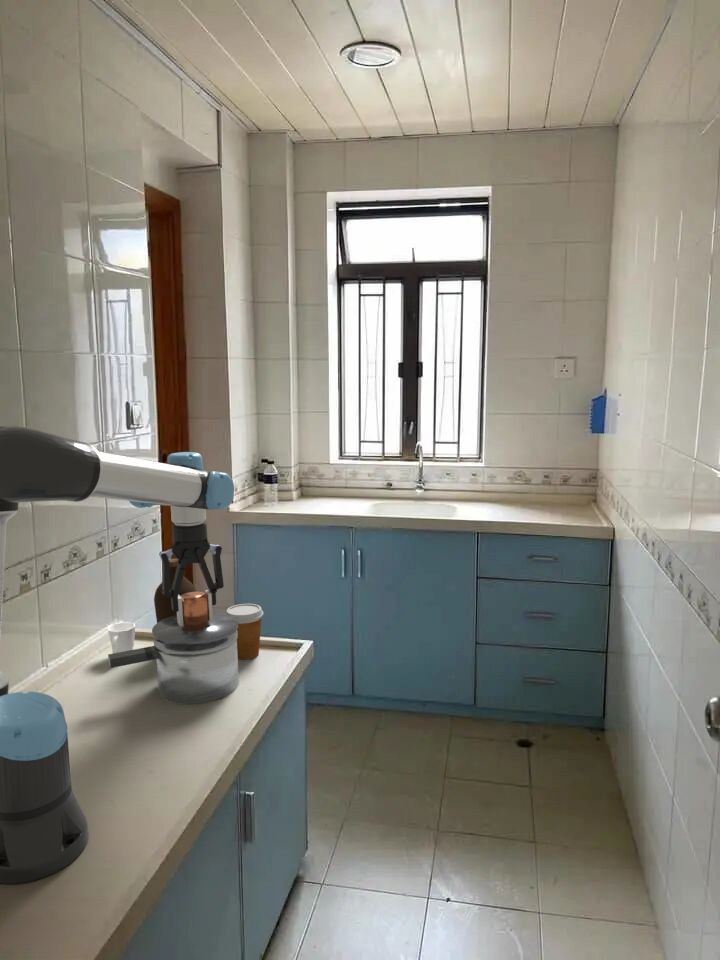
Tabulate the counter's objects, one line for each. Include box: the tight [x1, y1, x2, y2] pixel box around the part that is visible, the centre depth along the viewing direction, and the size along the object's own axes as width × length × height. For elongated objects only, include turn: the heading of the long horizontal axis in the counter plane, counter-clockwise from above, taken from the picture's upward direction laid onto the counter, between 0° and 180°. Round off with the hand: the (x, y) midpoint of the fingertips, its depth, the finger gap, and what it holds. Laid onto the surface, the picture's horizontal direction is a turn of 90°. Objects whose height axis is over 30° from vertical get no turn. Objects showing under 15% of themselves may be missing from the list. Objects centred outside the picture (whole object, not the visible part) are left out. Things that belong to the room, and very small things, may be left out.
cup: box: [107, 621, 136, 654], centre depth 179 cm, size 7×10×8 cm
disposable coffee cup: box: [225, 603, 264, 660], centre depth 180 cm, size 10×10×12 cm
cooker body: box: [107, 630, 240, 705], centre depth 160 cm, size 28×19×12 cm, turn 116°
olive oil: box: [153, 558, 198, 624], centre depth 179 cm, size 11×11×25 cm
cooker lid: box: [151, 591, 238, 646], centre depth 160 cm, size 19×19×8 cm
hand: (195, 621), depth 161 cm, fingers closed on cooker lid, 6 cm apart
